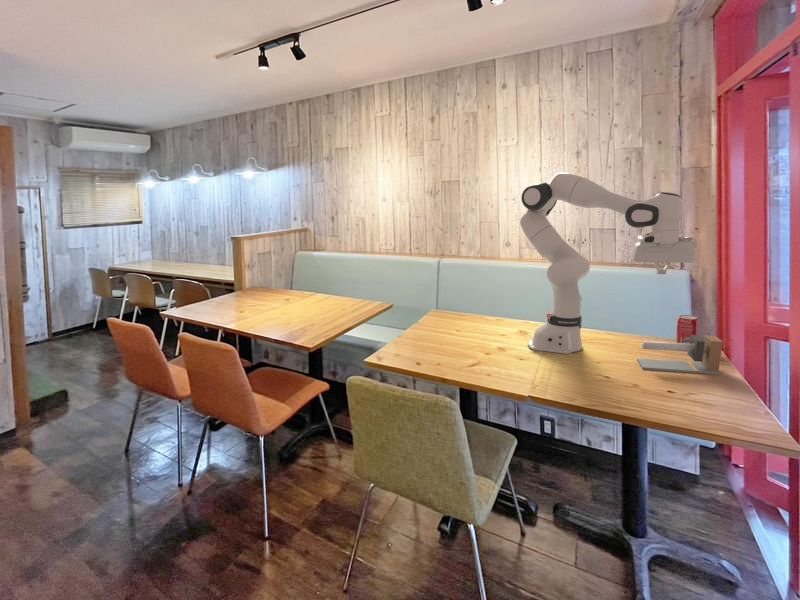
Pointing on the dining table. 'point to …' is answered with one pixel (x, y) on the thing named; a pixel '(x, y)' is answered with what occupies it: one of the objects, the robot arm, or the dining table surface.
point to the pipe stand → (706, 366)
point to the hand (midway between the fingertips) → (661, 274)
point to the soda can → (686, 328)
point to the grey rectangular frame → (697, 348)
